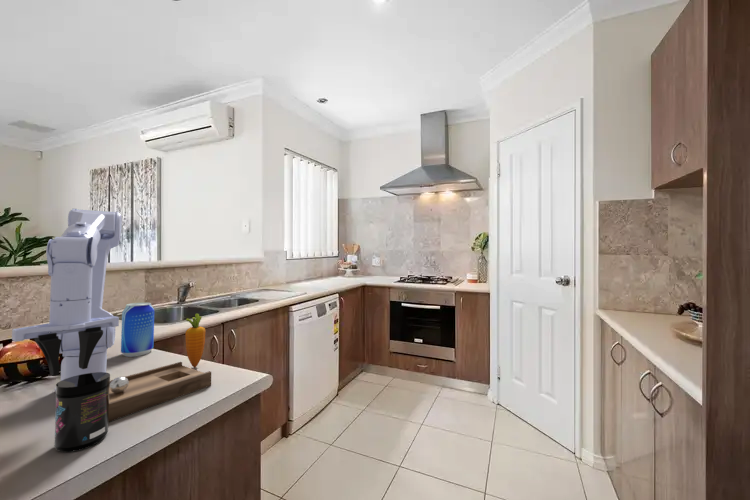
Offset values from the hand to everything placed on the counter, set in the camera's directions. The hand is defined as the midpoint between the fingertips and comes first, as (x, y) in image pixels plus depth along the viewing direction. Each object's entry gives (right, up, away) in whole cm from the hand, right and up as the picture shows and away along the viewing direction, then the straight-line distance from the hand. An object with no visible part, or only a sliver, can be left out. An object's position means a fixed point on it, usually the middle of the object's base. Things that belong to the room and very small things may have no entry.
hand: (69, 371), depth 59 cm
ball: (+4, -6, +7) cm, 10 cm away
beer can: (-19, -11, +42) cm, 47 cm away
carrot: (+7, -11, +29) cm, 32 cm away
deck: (+7, -10, +11) cm, 16 cm away
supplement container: (+9, -10, -7) cm, 15 cm away
